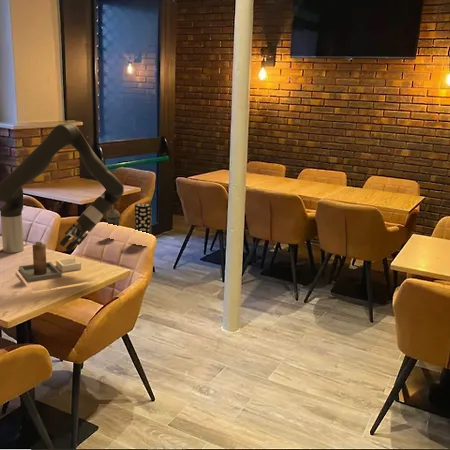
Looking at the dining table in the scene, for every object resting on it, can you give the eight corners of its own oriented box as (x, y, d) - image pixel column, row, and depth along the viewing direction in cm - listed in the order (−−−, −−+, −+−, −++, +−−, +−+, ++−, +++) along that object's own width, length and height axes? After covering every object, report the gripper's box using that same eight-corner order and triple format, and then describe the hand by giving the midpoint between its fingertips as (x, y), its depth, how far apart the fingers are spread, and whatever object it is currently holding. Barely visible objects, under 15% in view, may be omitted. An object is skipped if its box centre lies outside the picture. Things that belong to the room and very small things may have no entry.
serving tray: (19, 271, 216) (18, 266, 215) (50, 267, 223) (50, 261, 222) (28, 284, 203) (28, 278, 202) (61, 278, 210) (61, 272, 210)
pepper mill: (32, 272, 213) (30, 241, 210) (44, 270, 216) (43, 239, 213) (35, 275, 209) (34, 244, 206) (48, 273, 212) (46, 242, 209)
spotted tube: (142, 246, 259) (142, 207, 254) (131, 242, 264) (131, 204, 259) (154, 242, 266) (154, 205, 261) (143, 239, 270) (143, 202, 265)
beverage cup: (121, 236, 275) (121, 199, 270) (119, 240, 268) (118, 202, 263) (107, 235, 275) (107, 199, 270) (105, 239, 268) (104, 202, 263)
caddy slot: (56, 267, 223) (56, 259, 222) (74, 264, 227) (74, 257, 226) (62, 273, 216) (62, 266, 215) (81, 271, 220) (81, 263, 219)
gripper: (78, 209, 223) (52, 238, 219) (89, 216, 211) (62, 246, 208) (90, 220, 227) (65, 248, 224) (102, 227, 216) (76, 257, 212)
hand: (64, 247), depth 216 cm, fingers open, 8 cm apart
